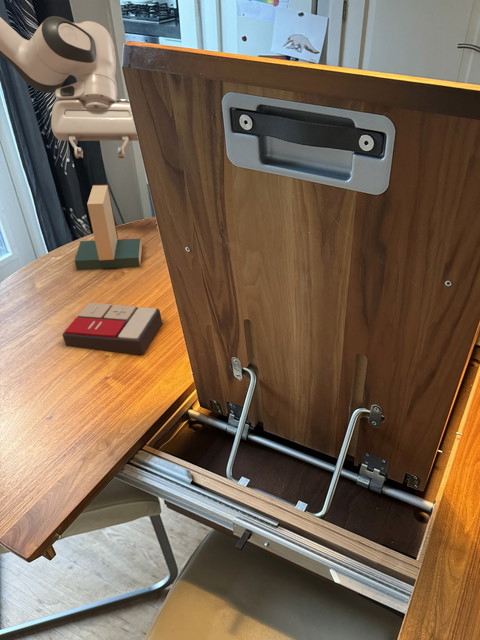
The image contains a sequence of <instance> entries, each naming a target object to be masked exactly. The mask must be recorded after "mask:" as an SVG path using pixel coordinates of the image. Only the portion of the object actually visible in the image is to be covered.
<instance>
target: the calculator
mask: <svg viewBox="0 0 480 640" xmlns="http://www.w3.org/2000/svg"><path fill="white" fill-rule="evenodd" d="M162 325H163V321H162V315H161V311H160V309H159V308H155V307H142V306H139V307H137V306H136V305H125V304H113V305H112V304H110V303H100V302H99V303H97V302H88V304H86V306H84V308H83V309H82V310H81V311H80V313H78V315H77V317H75V318H74V319H73V320H72V321H71V323H70V324H69V325H68V326H67V327H66V329H64V332H63V333H62V338H63V341H64V344H65V346H66V347H74V348H80V349H81V348H82V349H89V350H96V351H97V350H98V351H103V352H104V351H105V352H111V353H119V354H127V355H128V354H129V355H136V356H143V355H144V354H145V352H146V350H147V349H148V348H149V345H150V344H151V342H152V341H153V339H154V338H155V336H156V334H157V333H158V331H159V329H160V328H161V326H162Z"/></svg>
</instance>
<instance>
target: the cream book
mask: <svg viewBox="0 0 480 640" xmlns="http://www.w3.org/2000/svg"><path fill="white" fill-rule="evenodd" d="M91 187H92V188H91V191H90V194H89V197H88V199H87V200H88V201H87V202H86V205H87V210H88V216H89V220H90V224H91V229H92V233H93V237H94V241H95V243H96V248H97V252H98V257H99V260H114V256H115V250H116V245H117V240H118V239H119V237H118V236H119V235H118V231H117V225H116V219H115V214H114V209H113V208H114V207H113V203H112V197H111V192H110V187H109V184H92V186H91Z"/></svg>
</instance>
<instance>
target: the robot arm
mask: <svg viewBox="0 0 480 640" xmlns="http://www.w3.org/2000/svg"><path fill="white" fill-rule="evenodd" d="M0 56H1V57H3V59H5V60H6V61H7V62H8V63H9V64H10V65H11V66H12V67H13V68H14V70H15V71H16V73H18V74H19V76H20V77H21V78H22V79H23V80H24V82H26V83H27V84H28V85H29V86H30V87H32V88H33V89H35V90H37V91H39V92H42V93H46V94H52V93H54V94H55V99H56V101H55V102H54V104H53V105H52V111H51V120H50V124H51V125H50V126H51V131H52V133H53V135H54V137H55V138H56V139H57V140H58V141H69V143H70V145H71V146H72V148H73V149H74V157H75V158H76V159H84V150H83V148H82V147H78V146H77V145H78V144H79V143H78V141H91V142H92V141H98V142H99V141H100V142H101V141H109V142H110V141H111V142H113V141H115V142H120V141H121V142H122V145H121V147H117V157H118V159H126V157H127V156H126V152H127V151H128V149H129V147H130V145H131V142H139V141H138V138H137V134H136V130H135V125H134V121H133V116H132V112H131V108H130V104H129V100H128V99H129V98H119V92H118V91H119V90H118V84H117V80H116V75H117V58H116V48H115V44H114V41H113V38H112V36H111V34H110V32H109V31H108V29H107V28H106V27H104V26H103V25H101V24H100V23H98V22H96V21H92V20H85V21H82V22H79V23H78V22H72V21H70V20H68V19H66V18H64V17H61V16H56V15H52V16H48V17H46V18H45V19H44V20H43V21H42V23H41V24H40V25H39V26H38V28H37V29H36V30H35V31H34V33H33V35H32V36H31V37H30V39H26V38H24V37H22V36H21V35H20V34H19V33H18V32H17V31H16V30H15V29H13V27H12V26H10V25H9V24H8V23H7V22H6V21H5V20H4V19H3V18H2V17H1V16H0ZM69 76H73V77H74V78H75V80H76V82H74V83H71V84H69V85H64V84H65V82H66V80H67V78H68V77H69ZM63 85H64V86H63Z"/></svg>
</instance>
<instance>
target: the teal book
mask: <svg viewBox="0 0 480 640" xmlns="http://www.w3.org/2000/svg"><path fill="white" fill-rule="evenodd" d="M142 252H143V245H142V240H141V238H122V239H121V238H120V239H119V238H118V239H117V245H116V250H115V256H114V260H99V257H98V252H97V248H96V243H95V240H80V241H79V244H78V248H77V251H76V254H75V258H74V264H75V268H76V271H88V270H89V271H91V270H109V269H110V270H111V269H127V268H128V269H129V268H140V267H141V262H142Z"/></svg>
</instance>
